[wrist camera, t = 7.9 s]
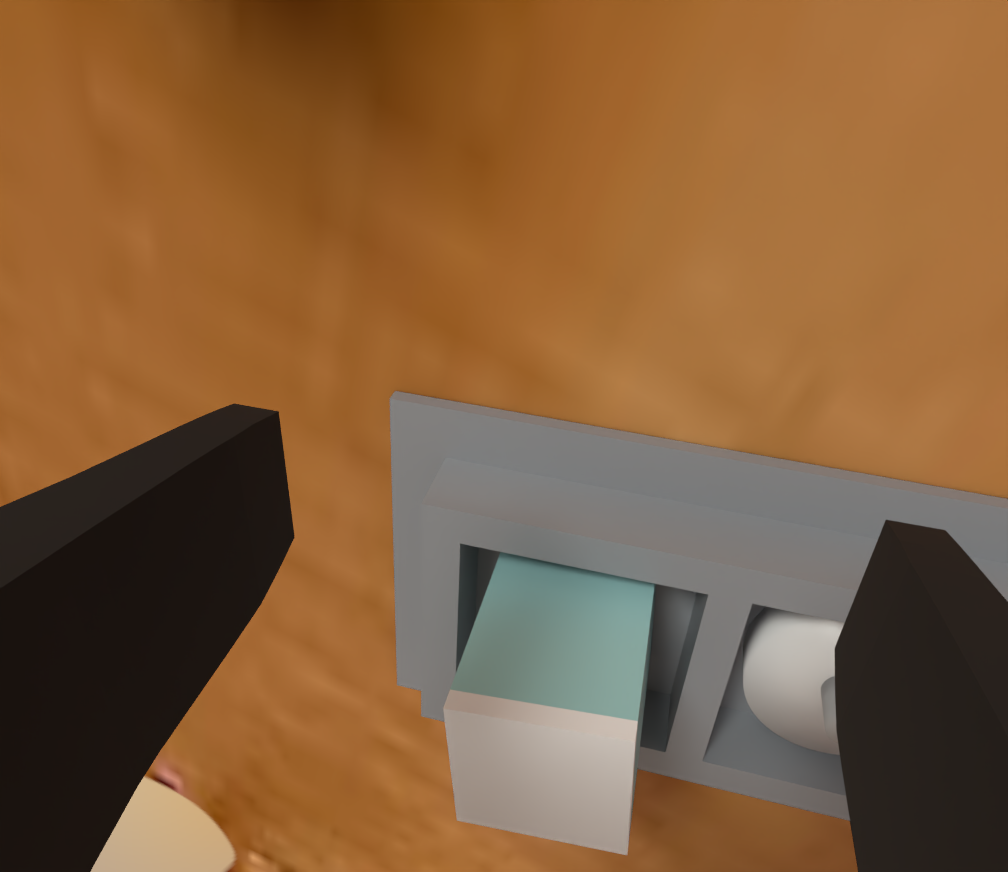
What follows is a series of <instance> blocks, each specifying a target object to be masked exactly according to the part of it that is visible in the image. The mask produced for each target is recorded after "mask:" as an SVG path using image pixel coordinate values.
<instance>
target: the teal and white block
mask: <svg viewBox="0 0 1008 872" xmlns="http://www.w3.org/2000/svg"><path fill="white" fill-rule="evenodd" d="M655 593H656V584H654V583H649V582H645V581H640V580H635V579H630V578H625V577H620V576H615V575H611V574H606V573H601V572H596V571H591V570H586V569H581V568H577V567H572V566H567V565H562V564H557V563H552V562H548V561H543V560H538V559H533V558H528V557H523V556H518V555H514V554H509V553H504V552H500V555H499V558H498V560H497V563H496V566H495V569H494V571H493V574H492V577H491V579H490V582H489V585H488V588H487V590H486V593H485V596H484V599H483V601H482V604H481V607H480V609H479V612H478V615H477V618H476V620H475V623H474V626H473V628H472V631H471V634H470V637H469V639H468V642H467V645H466V647H465V650H464V653H463V656H462V658H461V661H460V664H459V667H458V669H457V672H456V675H455V677H454V680H453V683H452V686H451V688H450V691H449V694H448V696H447V699H446V702H445V705H444V707H443V711H444V719H445V727H446V736H447V744H448V752H449V760H450V768H451V776H452V784H453V792H454V800H455V808H456V817H457V821H462V822H467V823H472V824H477V825H481V826H486V827H491V828H496V829H501V830H506V831H511V832H516V833H520V834H525V835H530V836H535V837H540V838H545V839H550V840H555V841H560V842H564V843H569V844H574V845H579V846H584V847H589V848H594V849H599V850H603V851H608V852H613V853H618V854H623V855H627V853H628V845H629V836H630V827H631V819H632V810H633V802H634V793H635V784H636V776H637V767H638V759H639V750H640V741H641V733H642V724H643V716H644V707H645V699H646V690H647V681H648V673H649V664H650V656H651V643H652V631H653V618H654V606H655Z"/></svg>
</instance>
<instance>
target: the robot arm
mask: <svg viewBox="0 0 1008 872" xmlns="http://www.w3.org/2000/svg"><path fill="white" fill-rule="evenodd" d="M293 539H294V530H293V522H292V514H291V506H290V498H289V490H288V482H287V474H286V467H285V459H284V451H283V443H282V435H281V427H280V419H279V412H278V411H273V410H267V409H261V408H256V407H250V406H244V405H239V404H232V405H229V406H226V407H224V408H221V409H218V410H216V411H213V412H211V413H209V414H206V415H204V416H202V417H199V418H197V419H195V420H193V421H190V422H188V423H186V424H184V425H182V426H179V427H177V428H175V429H173V430H171V431H169V432H166V433H164V434H162V435H160V436H158V437H156V438H154V439H151V440H149V441H147V442H145V443H143V444H141V445H139V446H137V447H134V448H132V449H130V450H128V451H126V452H124V453H121V454H119V455H117V456H115V457H113V458H111V459H109V460H106V461H104V462H102V463H100V464H98V465H96V466H93V467H91V468H89V469H87V470H85V471H83V472H81V473H78V474H76V475H74V476H72V477H70V478H67V479H65V480H63V481H60V482H58V483H56V484H53V485H51V486H49V487H46V488H44V489H42V490H39V491H37V492H34V493H32V494H30V495H27V496H25V497H23V498H20V499H18V500H16V501H13V502H11V503H9V504H6V505H4V506H2V507H0V872H90V871H91V869H92V867H93V865H94V864H95V862H96V860H97V858H98V856H99V854H100V853H101V851H102V849H103V847H104V846H105V844H106V842H107V840H108V838H109V837H110V835H111V833H112V831H113V829H114V828H115V826H116V824H117V822H118V821H119V819H120V817H121V815H122V813H123V812H124V810H125V808H126V806H127V804H128V803H129V801H130V799H131V797H132V795H133V794H134V791H135V790H136V788H137V786H138V785H139V783H140V782H141V780H142V778H143V777H144V775H145V774H146V772H147V771H148V769H149V768H150V766H151V764H152V763H153V761H154V760H155V758H156V756H157V755H158V753H159V752H160V750H161V749H162V747H163V746H164V745H165V743H166V742H167V740H168V739H169V737H170V736H171V734H172V733H173V732H174V730H175V729H176V727H177V726H178V724H179V723H180V721H181V720H182V719H183V717H184V716H185V714H186V713H187V711H188V710H189V708H190V707H191V706H192V704H193V703H194V701H195V700H196V698H197V697H198V695H199V694H200V693H201V691H202V690H203V688H204V687H205V685H206V684H207V683H208V681H209V680H210V678H211V677H212V675H213V674H214V672H215V671H216V670H217V668H218V667H219V665H220V664H221V662H222V661H223V659H224V658H225V657H226V655H227V654H228V652H229V651H230V649H231V648H232V646H233V645H234V643H235V642H236V640H237V639H238V637H239V636H240V635H241V633H242V632H243V630H244V629H245V627H246V626H247V624H248V623H249V621H250V620H251V618H252V617H253V615H254V614H255V612H256V611H257V609H258V608H259V606H260V605H261V603H262V601H263V599H264V597H265V595H266V594H267V592H268V590H269V588H270V586H271V584H272V582H273V580H274V578H275V576H276V574H277V572H278V570H279V568H280V566H281V564H282V562H283V560H284V558H285V556H286V554H287V552H288V550H289V547H290V545H291V543H292V541H293ZM835 705H836V732H837V739H838V746H839V753H840V759H841V766H842V772H843V779H844V785H845V792H846V798H847V805H848V811H849V817H850V824H851V830H852V836H853V842H854V848H855V855H856V861H857V867H858V872H1008V601H1007V600H1006V599H1005V598H1004V597H1003V596H1002V594H1001V593H1000V592H999V591H998V590H997V588H996V587H995V586H994V585H993V584H992V583H991V581H990V580H989V579H988V578H987V577H986V576H985V574H984V573H983V572H982V571H981V570H980V569H979V567H978V566H977V565H976V564H975V563H974V562H973V560H972V559H971V558H970V557H969V556H968V555H967V553H966V552H965V551H964V550H963V549H962V548H961V547H960V545H959V544H958V543H957V542H956V541H955V540H954V539H953V538H952V537H951V536H950V535H949V533H948V532H947V531H946V530H942V529H937V528H931V527H925V526H920V525H914V524H908V523H903V522H897V521H891V520H885V523H884V525H883V528H882V530H881V533H880V536H879V538H878V541H877V543H876V546H875V548H874V551H873V553H872V556H871V558H870V561H869V563H868V566H867V568H866V571H865V573H864V576H863V578H862V581H861V583H860V586H859V588H858V591H857V593H856V596H855V598H854V601H853V603H852V606H851V608H850V611H849V613H848V616H847V618H846V621H845V623H844V626H843V628H842V631H841V633H840V636H839V638H838V641H837V643H836V646H835Z"/></svg>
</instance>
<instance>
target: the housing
mask: <svg viewBox="0 0 1008 872" xmlns="http://www.w3.org/2000/svg"><path fill="white" fill-rule="evenodd" d="M390 429H391V467H392V506H393V544H394V582H395V621H396V659H397V685H399V686H403V687H407V688H412V689H416V690H420V691H421V716H423V717H427V718H431V719H435V720H439V721H443V722H445V719H444V711H443V707H444V705H445V702H446V699H447V696H448V694H449V691H450V688H451V686H452V683H453V680H454V677H455V675H456V672H457V669H458V667H459V664H460V661H461V658H462V656H463V653H464V650H465V647H466V645H467V642H468V639H469V637H470V634H471V631H472V628H473V626H474V623H475V620H476V618H477V615H478V612H479V609H480V607H481V604H482V601H483V599H484V596H485V593H486V590H487V588H488V585H489V582H490V579H491V577H492V574H493V571H494V569H495V566H496V563H497V560H498V558H499V555H500V552H504V553H509V554H514V555H518V556H523V557H528V558H533V559H538V560H543V561H548V562H552V563H557V564H562V565H567V566H572V567H577V568H581V569H586V570H591V571H596V572H601V573H606V574H611V575H615V576H620V577H625V578H630V579H635V580H640V581H645V582H649V583H654V584H656V593H655V606H654V618H653V631H652V643H651V656H650V664H649V673H648V681H647V690H646V699H645V707H644V716H643V724H642V733H641V741H640V750H639V759H638V767H637V769H640V770H644V771H648V772H652V773H656V774H660V775H664V776H668V777H672V778H677V779H681V780H685V781H689V782H693V783H697V784H701V785H705V786H709V787H713V788H717V789H722V790H726V791H730V792H734V793H738V794H742V795H746V796H750V797H754V798H758V799H762V800H767V801H771V802H775V803H779V804H783V805H787V806H791V807H795V808H799V809H803V810H807V811H812V812H816V813H820V814H824V815H828V816H832V817H836V818H840V819H844V820H848V821H850V817H849V811H848V805H847V798H846V792H845V785H844V779H843V772H842V766H841V759H840V753H839V746H838V739H837V732H836V705H835V646H836V643H837V641H838V638H839V636H840V633H841V631H842V628H843V626H844V623H845V621H846V618H847V616H848V613H849V611H850V608H851V606H852V603H853V601H854V598H855V596H856V593H857V591H858V588H859V586H860V583H861V581H862V578H863V576H864V573H865V571H866V568H867V566H868V563H869V561H870V558H871V556H872V553H873V551H874V548H875V546H876V543H877V541H878V538H879V536H880V533H881V530H882V528H883V525H884V523H885V520H891V521H897V522H903V523H908V524H914V525H920V526H925V527H931V528H937V529H942V530H946V531H947V532H948V533H949V535H950V536H951V537H952V538H953V539H954V540H955V541H956V542H957V543H958V544H959V545H960V547H961V548H962V549H963V550H964V551H965V552H966V553H967V555H968V556H969V557H970V558H971V559H972V560H973V562H974V563H975V564H976V565H977V566H978V567H979V569H980V570H981V571H982V572H983V573H984V574H985V576H986V577H987V578H988V579H989V580H990V581H991V583H992V584H993V585H994V586H995V587H996V588H997V590H998V591H999V592H1000V593H1001V594H1002V596H1003V597H1004V598H1005V599H1006V600H1007V601H1008V499H1005V498H1000V497H994V496H988V495H983V494H977V493H971V492H966V491H960V490H954V489H949V488H943V487H937V486H932V485H926V484H920V483H915V482H909V481H903V480H898V479H892V478H886V477H881V476H875V475H869V474H864V473H858V472H852V471H847V470H841V469H835V468H830V467H824V466H818V465H813V464H807V463H801V462H796V461H790V460H784V459H779V458H773V457H767V456H762V455H756V454H750V453H745V452H739V451H733V450H728V449H722V448H716V447H711V446H705V445H699V444H693V443H688V442H682V441H676V440H671V439H665V438H659V437H654V436H648V435H642V434H637V433H631V432H625V431H620V430H614V429H608V428H603V427H597V426H591V425H586V424H580V423H574V422H569V421H563V420H557V419H552V418H546V417H540V416H535V415H529V414H523V413H518V412H512V411H506V410H501V409H495V408H489V407H484V406H478V405H472V404H467V403H461V402H455V401H450V400H444V399H438V398H433V397H427V396H421V395H416V394H410V393H404V392H398V391H395V392H394V393H393V395H392V396H391V397H390Z"/></svg>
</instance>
